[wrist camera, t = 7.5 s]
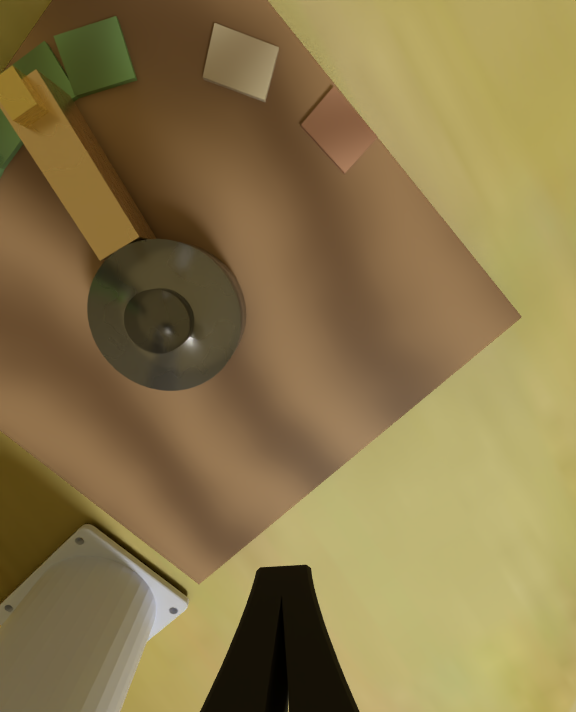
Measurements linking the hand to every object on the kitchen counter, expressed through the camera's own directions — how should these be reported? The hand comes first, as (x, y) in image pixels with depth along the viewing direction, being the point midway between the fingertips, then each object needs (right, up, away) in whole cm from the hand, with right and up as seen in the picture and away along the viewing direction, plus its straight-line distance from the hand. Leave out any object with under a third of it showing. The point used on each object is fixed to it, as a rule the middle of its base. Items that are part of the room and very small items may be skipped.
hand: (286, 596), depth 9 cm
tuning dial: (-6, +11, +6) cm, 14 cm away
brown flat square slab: (-5, +9, +8) cm, 12 cm away
